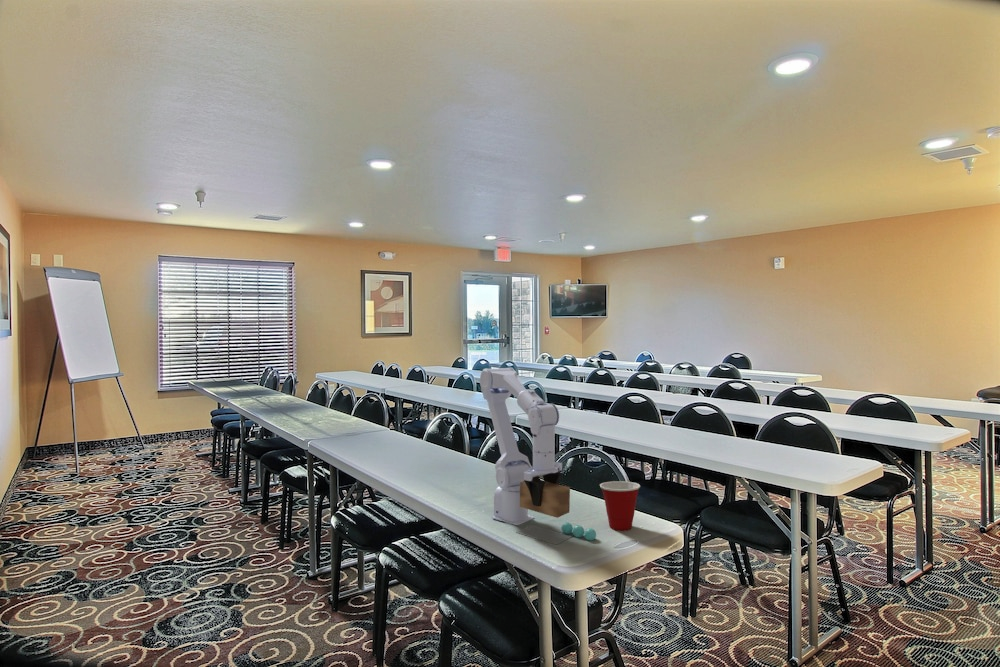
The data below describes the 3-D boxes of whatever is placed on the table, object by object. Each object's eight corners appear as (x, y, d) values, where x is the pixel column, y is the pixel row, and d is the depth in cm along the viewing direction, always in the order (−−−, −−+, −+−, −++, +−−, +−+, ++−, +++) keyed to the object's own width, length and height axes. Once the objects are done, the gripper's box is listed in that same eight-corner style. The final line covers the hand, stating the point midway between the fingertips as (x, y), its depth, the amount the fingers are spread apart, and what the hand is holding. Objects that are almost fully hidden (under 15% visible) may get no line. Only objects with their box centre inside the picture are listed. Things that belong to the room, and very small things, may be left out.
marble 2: (570, 537, 144) (570, 525, 144) (576, 534, 146) (576, 522, 146) (580, 540, 142) (580, 528, 142) (586, 536, 144) (586, 525, 144)
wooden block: (519, 506, 147) (520, 482, 146) (532, 501, 151) (532, 478, 151) (557, 517, 139) (558, 492, 139) (569, 512, 143) (569, 487, 143)
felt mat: (515, 533, 146) (515, 532, 146) (531, 526, 152) (531, 524, 152) (556, 545, 138) (556, 544, 138) (572, 537, 144) (572, 536, 143)
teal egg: (582, 540, 142) (582, 528, 142) (588, 537, 144) (588, 525, 144) (592, 543, 140) (592, 531, 140) (598, 540, 142) (598, 528, 142)
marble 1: (559, 534, 146) (559, 522, 146) (565, 531, 148) (565, 519, 148) (568, 536, 144) (568, 525, 144) (575, 533, 146) (575, 522, 146)
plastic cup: (622, 518, 158) (621, 476, 158) (648, 530, 149) (648, 485, 148) (591, 525, 153) (591, 481, 153) (617, 537, 143) (617, 491, 143)
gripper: (539, 457, 137) (539, 512, 137) (571, 448, 148) (571, 499, 148) (517, 453, 141) (517, 507, 141) (549, 444, 152) (549, 494, 152)
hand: (543, 502), depth 145 cm, fingers closed on wooden block, 5 cm apart
